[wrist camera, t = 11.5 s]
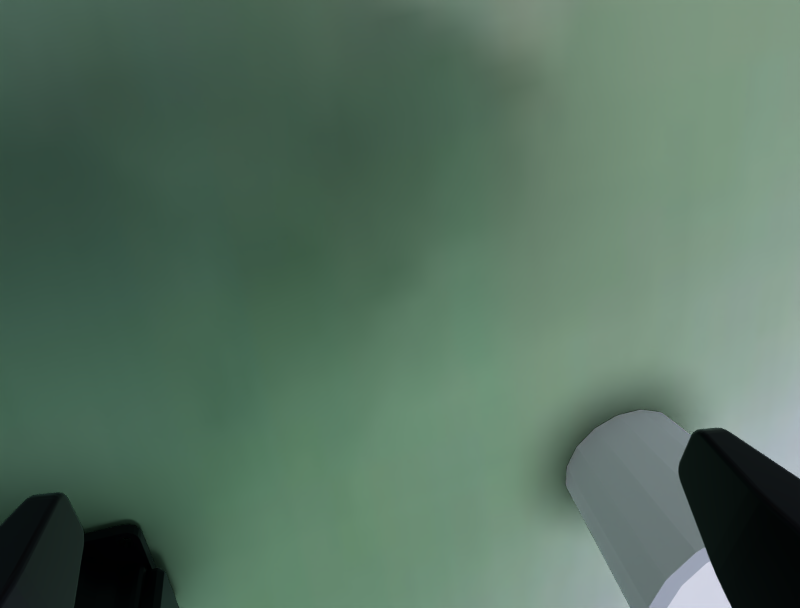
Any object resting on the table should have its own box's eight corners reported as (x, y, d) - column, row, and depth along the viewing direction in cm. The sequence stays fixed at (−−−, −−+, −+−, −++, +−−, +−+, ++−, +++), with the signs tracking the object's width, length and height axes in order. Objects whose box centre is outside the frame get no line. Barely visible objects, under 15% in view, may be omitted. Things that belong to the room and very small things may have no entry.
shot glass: (571, 402, 25) (682, 536, 19) (712, 393, 27) (855, 512, 21) (537, 527, 28) (623, 677, 22) (666, 511, 30) (778, 645, 24)
